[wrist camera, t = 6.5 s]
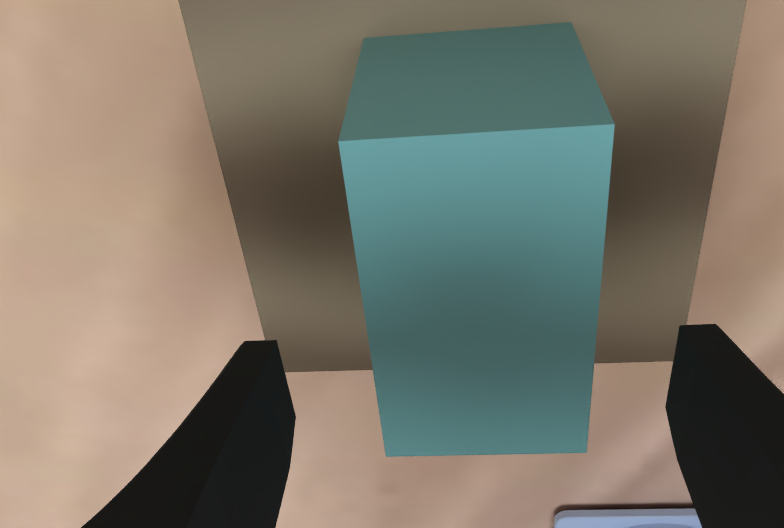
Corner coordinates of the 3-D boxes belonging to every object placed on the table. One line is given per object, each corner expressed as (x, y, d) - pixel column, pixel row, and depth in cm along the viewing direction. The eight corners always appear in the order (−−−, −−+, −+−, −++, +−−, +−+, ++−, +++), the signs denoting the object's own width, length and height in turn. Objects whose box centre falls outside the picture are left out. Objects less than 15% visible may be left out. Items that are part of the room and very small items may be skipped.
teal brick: (558, 309, 21) (586, 452, 17) (396, 315, 21) (385, 456, 17) (571, 22, 16) (614, 124, 12) (363, 37, 16) (338, 141, 12)
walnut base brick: (655, 295, 24) (679, 360, 22) (289, 309, 25) (273, 372, 23) (716, -116, 17) (762, -87, 15) (205, -70, 18) (168, -37, 16)
